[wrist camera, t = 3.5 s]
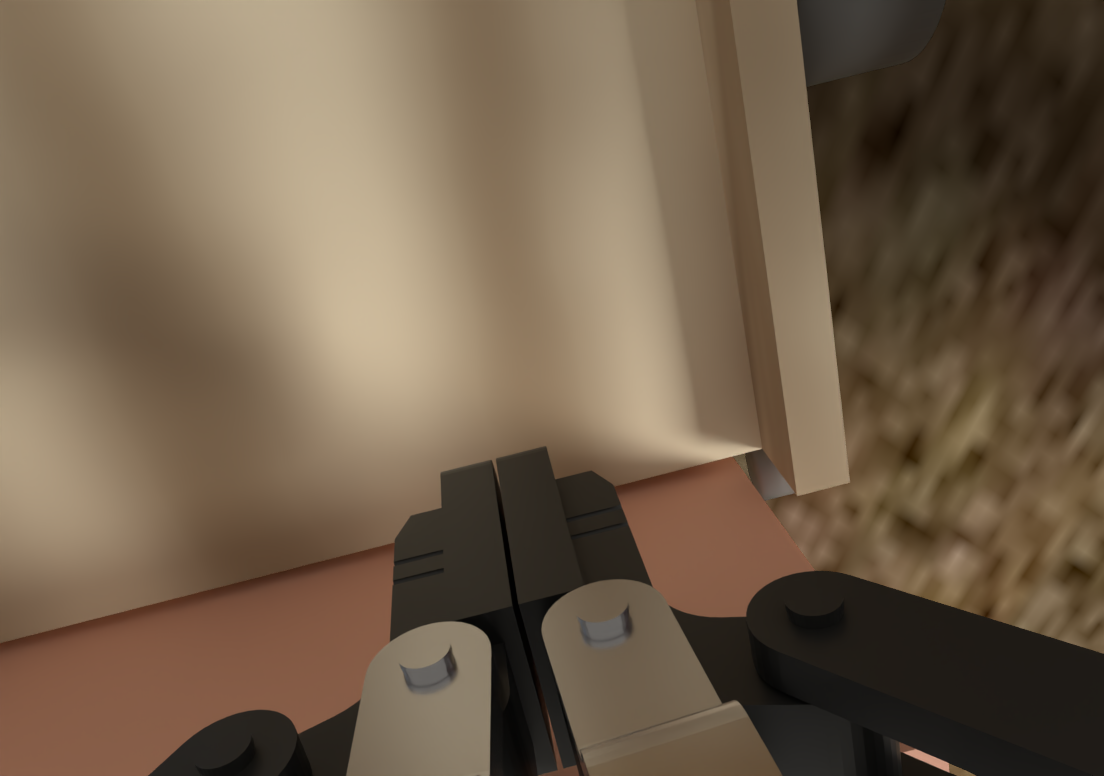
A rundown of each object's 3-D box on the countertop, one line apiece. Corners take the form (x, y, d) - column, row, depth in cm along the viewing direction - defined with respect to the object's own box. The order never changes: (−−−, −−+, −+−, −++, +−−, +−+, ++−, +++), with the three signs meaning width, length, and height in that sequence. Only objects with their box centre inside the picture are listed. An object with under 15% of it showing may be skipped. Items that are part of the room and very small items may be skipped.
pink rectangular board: (731, 447, 20) (946, 741, 12) (741, 507, 21) (955, 830, 12) (-184, 680, 20) (-660, 1166, 11) (-152, 736, 20) (-584, 1242, 12)
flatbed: (781, -537, 16) (923, -745, 12) (872, 409, 23) (984, 513, 19) (-873, -164, 15) (-1420, -229, 11) (-268, 699, 22) (-447, 883, 18)
